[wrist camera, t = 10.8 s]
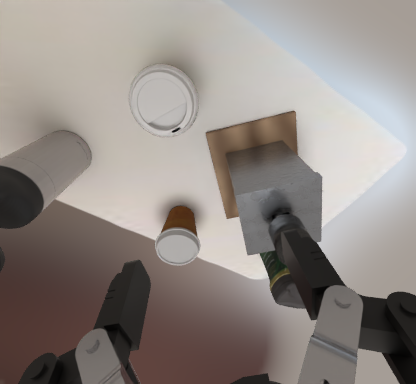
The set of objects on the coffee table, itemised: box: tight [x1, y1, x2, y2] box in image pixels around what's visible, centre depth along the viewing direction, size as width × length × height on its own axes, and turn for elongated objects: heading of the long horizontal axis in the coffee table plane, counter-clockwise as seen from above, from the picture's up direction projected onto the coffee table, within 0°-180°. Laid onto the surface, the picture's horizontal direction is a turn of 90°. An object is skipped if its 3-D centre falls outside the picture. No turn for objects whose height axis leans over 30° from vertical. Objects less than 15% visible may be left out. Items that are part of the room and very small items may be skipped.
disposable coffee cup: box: [155, 206, 200, 265], centre depth 52 cm, size 10×10×12 cm
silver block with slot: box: [226, 140, 322, 255], centre depth 44 cm, size 12×15×18 cm
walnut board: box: [206, 111, 298, 219], centre depth 51 cm, size 18×22×1 cm
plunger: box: [268, 213, 313, 265], centre depth 38 cm, size 8×8×20 cm
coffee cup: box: [129, 64, 199, 137], centre depth 36 cm, size 10×10×15 cm
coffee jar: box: [259, 250, 305, 309], centre depth 54 cm, size 10×8×19 cm
